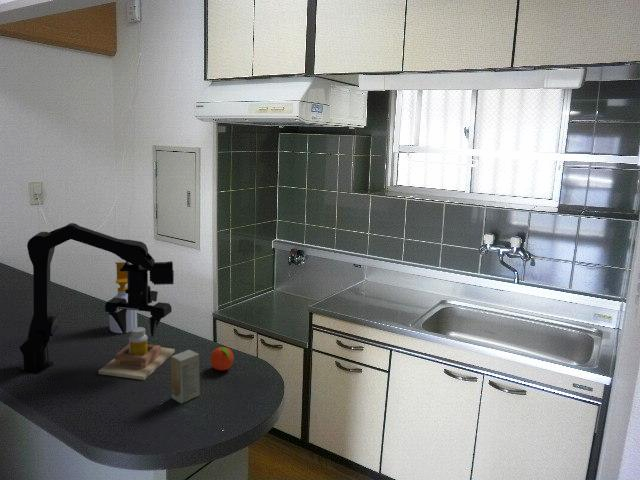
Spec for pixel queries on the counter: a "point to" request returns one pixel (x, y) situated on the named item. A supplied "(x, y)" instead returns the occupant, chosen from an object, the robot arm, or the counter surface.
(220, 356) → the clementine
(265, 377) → the counter surface
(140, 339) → the supplement bottle
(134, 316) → the soap bottle
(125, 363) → the maple holder board
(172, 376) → the skincare box
